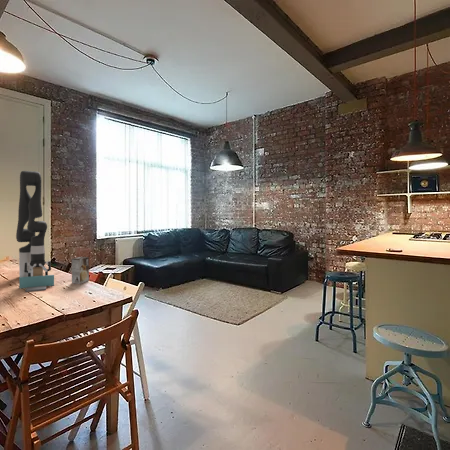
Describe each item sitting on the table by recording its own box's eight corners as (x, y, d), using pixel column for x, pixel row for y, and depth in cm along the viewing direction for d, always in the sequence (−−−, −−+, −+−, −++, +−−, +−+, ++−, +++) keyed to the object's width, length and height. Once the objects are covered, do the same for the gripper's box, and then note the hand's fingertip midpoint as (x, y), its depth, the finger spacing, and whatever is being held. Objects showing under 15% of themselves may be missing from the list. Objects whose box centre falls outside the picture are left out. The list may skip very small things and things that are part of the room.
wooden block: (33, 283, 192) (33, 266, 192) (43, 282, 194) (42, 265, 194) (33, 285, 187) (32, 267, 187) (42, 284, 190) (42, 267, 189)
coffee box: (80, 280, 203) (80, 256, 202) (89, 280, 202) (89, 256, 201) (71, 283, 194) (71, 258, 193) (80, 284, 193) (80, 259, 192)
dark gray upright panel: (26, 288, 179) (26, 287, 179) (46, 287, 183) (46, 285, 183) (25, 292, 172) (25, 290, 172) (45, 290, 177) (45, 288, 177)
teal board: (19, 288, 180) (19, 277, 180) (54, 285, 189) (54, 274, 188) (19, 288, 179) (19, 277, 179) (54, 285, 188) (54, 275, 187)
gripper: (51, 251, 196) (51, 276, 197) (24, 252, 190) (25, 278, 191) (50, 252, 190) (50, 278, 191) (23, 254, 183) (23, 280, 184)
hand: (38, 278), depth 191 cm, fingers open, 8 cm apart
